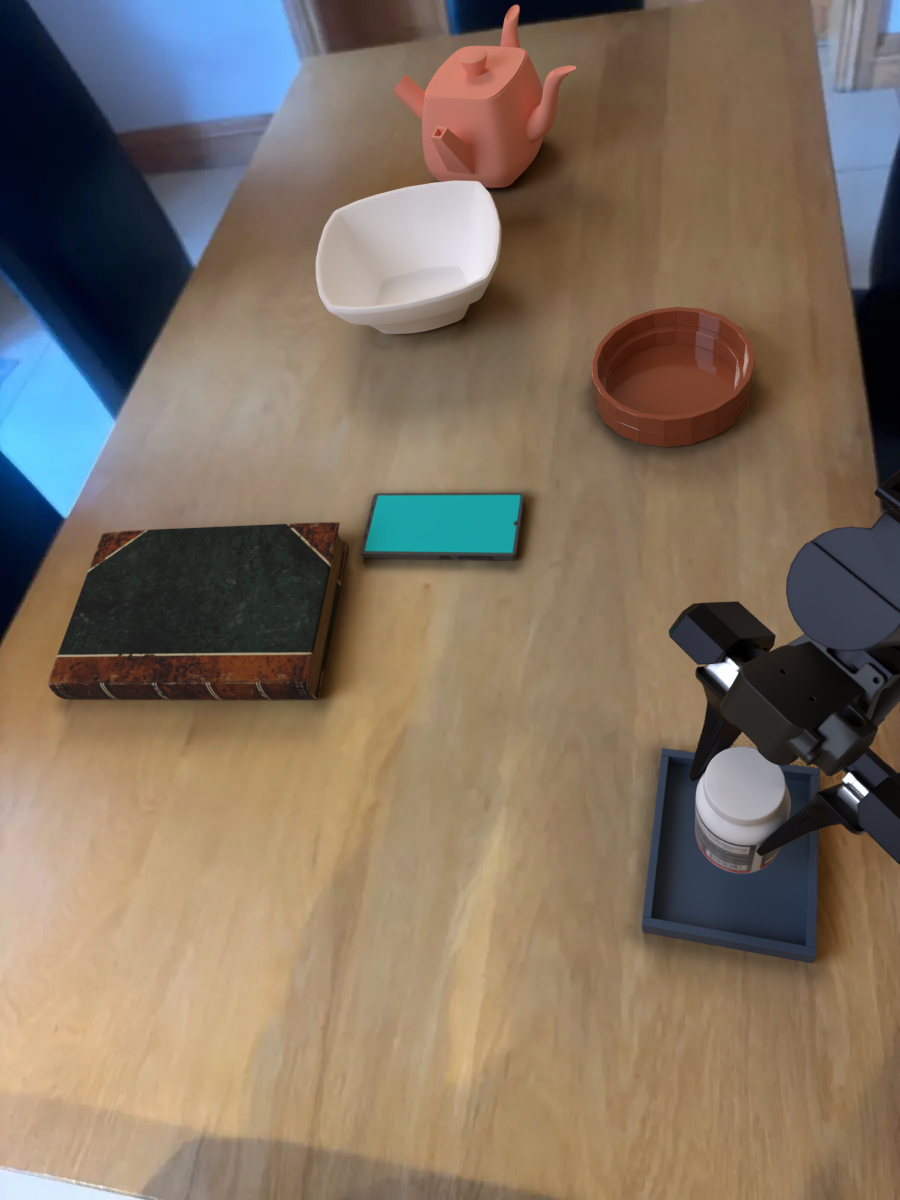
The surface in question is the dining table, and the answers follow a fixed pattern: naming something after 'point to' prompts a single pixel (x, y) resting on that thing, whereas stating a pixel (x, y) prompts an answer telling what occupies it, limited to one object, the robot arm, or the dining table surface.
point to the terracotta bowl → (673, 376)
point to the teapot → (485, 111)
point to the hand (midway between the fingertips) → (726, 814)
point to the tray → (729, 876)
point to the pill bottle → (740, 809)
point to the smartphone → (444, 526)
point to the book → (204, 614)
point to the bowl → (409, 256)
